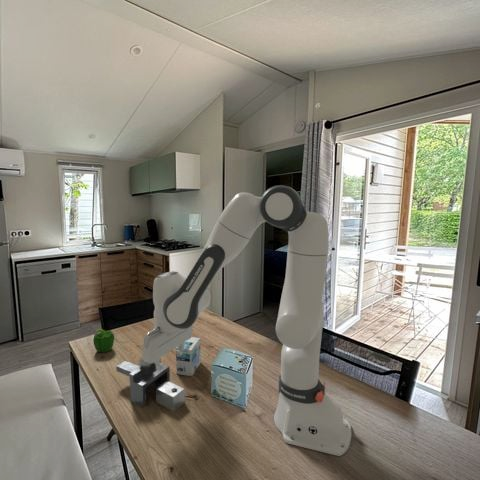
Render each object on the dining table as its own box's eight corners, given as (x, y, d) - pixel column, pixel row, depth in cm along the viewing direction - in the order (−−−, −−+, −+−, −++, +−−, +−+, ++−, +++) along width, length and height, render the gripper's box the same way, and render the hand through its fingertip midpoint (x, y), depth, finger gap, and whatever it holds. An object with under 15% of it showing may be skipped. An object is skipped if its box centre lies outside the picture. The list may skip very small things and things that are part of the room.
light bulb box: (192, 376, 111) (191, 350, 109) (175, 374, 112) (175, 348, 111) (201, 361, 121) (201, 337, 120) (186, 359, 123) (185, 335, 121)
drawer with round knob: (169, 386, 105) (169, 351, 103) (143, 407, 94) (141, 369, 92) (134, 372, 113) (133, 339, 112) (106, 390, 102) (104, 355, 101)
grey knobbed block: (184, 402, 97) (184, 388, 96) (173, 411, 93) (173, 396, 92) (167, 393, 101) (167, 380, 100) (156, 402, 97) (155, 387, 96)
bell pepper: (117, 345, 134) (116, 324, 133) (110, 354, 126) (109, 332, 125) (99, 345, 134) (98, 324, 133) (90, 354, 126) (89, 333, 125)
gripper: (151, 336, 83) (153, 382, 84) (195, 312, 100) (196, 350, 102) (136, 332, 85) (138, 376, 87) (181, 309, 103) (182, 346, 105)
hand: (169, 362), depth 95 cm, fingers open, 8 cm apart
